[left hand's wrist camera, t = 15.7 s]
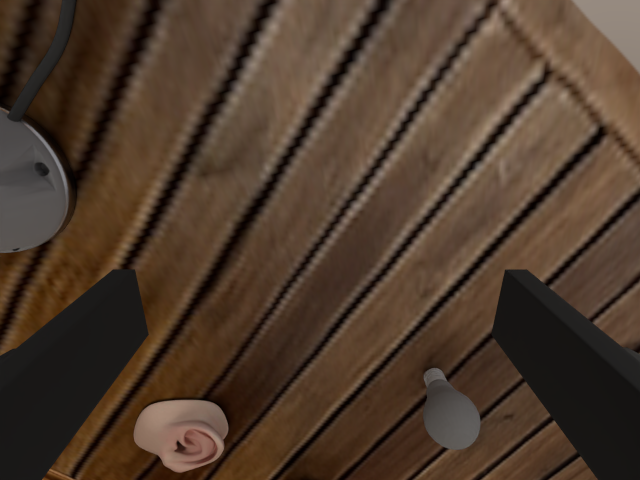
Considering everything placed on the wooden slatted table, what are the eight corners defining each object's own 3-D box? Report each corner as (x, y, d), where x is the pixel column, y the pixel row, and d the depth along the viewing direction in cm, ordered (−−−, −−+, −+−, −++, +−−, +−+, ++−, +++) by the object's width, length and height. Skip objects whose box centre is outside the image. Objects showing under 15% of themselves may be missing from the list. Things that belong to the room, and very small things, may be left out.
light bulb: (407, 358, 45) (430, 425, 36) (454, 351, 45) (490, 417, 35) (411, 394, 47) (433, 466, 38) (456, 388, 47) (490, 459, 38)
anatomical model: (122, 481, 48) (113, 418, 44) (136, 454, 51) (130, 393, 47) (221, 489, 48) (222, 427, 44) (228, 461, 52) (229, 402, 48)
